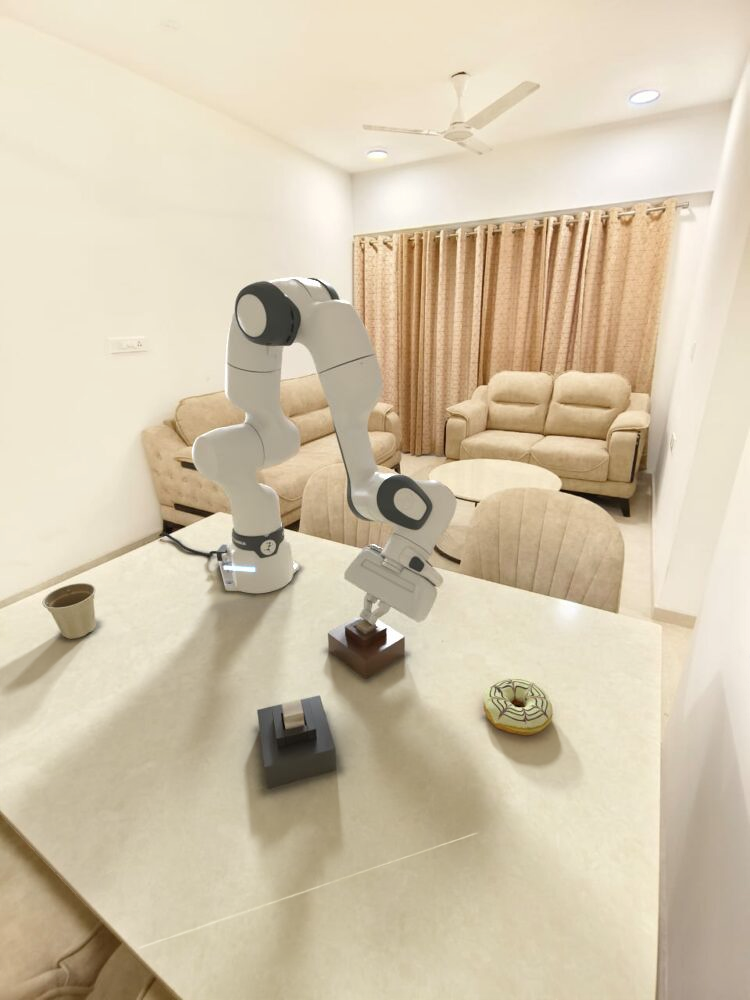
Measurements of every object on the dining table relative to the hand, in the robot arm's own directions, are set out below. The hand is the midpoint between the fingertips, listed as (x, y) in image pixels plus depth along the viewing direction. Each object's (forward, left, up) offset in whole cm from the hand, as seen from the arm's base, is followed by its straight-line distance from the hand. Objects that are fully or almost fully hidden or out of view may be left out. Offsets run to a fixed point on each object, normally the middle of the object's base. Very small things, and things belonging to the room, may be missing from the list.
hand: (366, 621), depth 94 cm
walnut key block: (0, 0, -7) cm, 7 cm away
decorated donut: (+27, +12, -7) cm, 30 cm away
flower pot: (-40, -46, -8) cm, 62 cm away
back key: (0, 0, -3) cm, 3 cm away
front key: (+13, -21, -2) cm, 25 cm away
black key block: (+13, -21, -7) cm, 26 cm away
